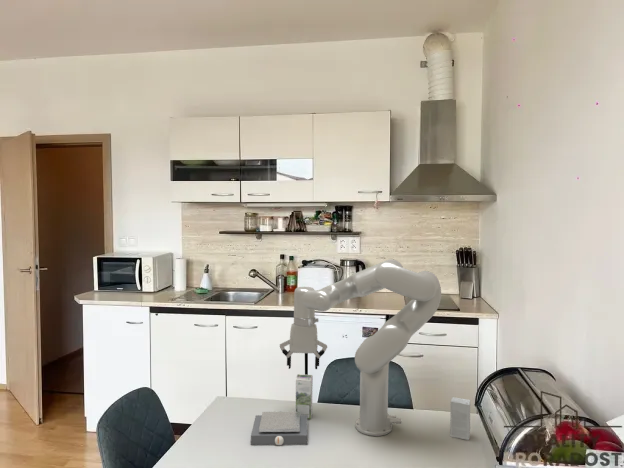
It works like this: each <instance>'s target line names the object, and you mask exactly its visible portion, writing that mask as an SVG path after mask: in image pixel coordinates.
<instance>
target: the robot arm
mask: <svg viewBox="0 0 624 468" xmlns="http://www.w3.org/2000/svg"><path fill="white" fill-rule="evenodd" d="M384 289H386V290H387V291H390V292H393V293H395V294H398V295H401V296H403V297H404V298H409V299H411V300H409V302H408V303H407V304H405V306H403V307H402V308H401V309H400V310H399V311H398V312H397V313H396V314H394V315H393V316H392V317H391V318H388V320H385V322H384V324H383V325H382V326H381V327H380V328H379V329H378V330H377V331H376V332H375V333H374V334H373V335H370V336H368V337H366V338H365V339H364V340H363V341H362V343H360V345H359V346H358V348H357V349H356V352H355V354H354V363H355V366H356V368H357V369H358V370H359V371H360V373H359V375H360V377H359V379H360V380H359V418H358V419H356V420H355V423H354V424H355V425H354V426H355V428H356V430H357V431H358V432H360V433H361V434H364V435H366V436H371V437H372V436H375V437H381V436H385V435H388V434H390V432H391V431H392V430H393V424H396V425H400V424H402V423H403V422H402V421H403V420H402V418H401V417H397V415H396V414H392V415H391V414H389V412H388V411H389V410H388V407H389V402H388V401H389V398H388V397H389V370H390V369H389V367H390V362H391V361H393V360H394V359H395V358H396V357H397V356H398V355H400V354H401V353H402V351H404V349H405V348H406V347H407V346H408V344H409V342H410V339H411V337H413V335H414V334H416V333H417V332H418V331H420V329H421V328H422V327H423V326H424V325H425V324H427V322H428V321H430V319H431V318H432V317H433V316H434V315H435V314H436V313H437V310H438V309H439V306H440V304H441V300H442V288H441V283H440V281H439V279H438V277H437V275H436V274H435V273H434V272H432V271H428V270H422V271H419V272H417V271H413V270H411V269H407V268H406V267H404V266H403V264H402V263H401V262H399V261H398V260H397V259H386V260H384V261H382V262H379V263H376V264H375V265H372V266H369V267H367V268H364V269H362V270H360V271H357V272H355V273H353V274H351V275H350V276H348V277H346V278H344V279H341V280H339V281H337V282H333V283H331V284H330V285H326V286H324V287H322V288H320V289H317V290H316V289H314V287H311V286H298V287H296V288H295V289H294V293H293V294H294V295H293V296H294V298H293V299H294V300H293V301H294V302H293V323H291V325H290V331H289V339H288V340H285V341H284V342H282V343H280V344H279V347H280V348H279V349H280V350H281V353H282V354H283V355H284V356H285V357H286V366H288V369H289V370H290V369H291V367H292V355H293V354H314V356H315V357H314V369H315V370H318V367H320V358H321V357H322V356H323V355H324V354H325V352H326V351H327V349H328V345H327V344H326V343H324V342H322V341H320V340H319V339H318V327H317V324H316V323H319V318H317V317H315V315H316V312H315V311H318V312H326V311H328V310H331V308H332V309H333V307H334V306H336V305H338V304H341V303H343V302H345V301H346V302H347V301H348V300H351V299H354V298H358V297H361V298H364V297H367V296H369V295H372V294H373V293H377V292H379V291H382V290H384ZM287 346H289V347H288V348H289V350H287V349H286V348H285V347H287ZM318 346H320V348H321V350H319V351H318Z"/></svg>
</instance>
